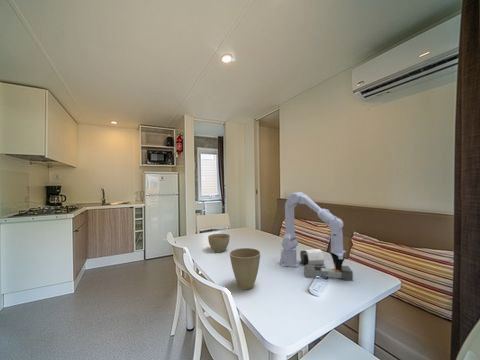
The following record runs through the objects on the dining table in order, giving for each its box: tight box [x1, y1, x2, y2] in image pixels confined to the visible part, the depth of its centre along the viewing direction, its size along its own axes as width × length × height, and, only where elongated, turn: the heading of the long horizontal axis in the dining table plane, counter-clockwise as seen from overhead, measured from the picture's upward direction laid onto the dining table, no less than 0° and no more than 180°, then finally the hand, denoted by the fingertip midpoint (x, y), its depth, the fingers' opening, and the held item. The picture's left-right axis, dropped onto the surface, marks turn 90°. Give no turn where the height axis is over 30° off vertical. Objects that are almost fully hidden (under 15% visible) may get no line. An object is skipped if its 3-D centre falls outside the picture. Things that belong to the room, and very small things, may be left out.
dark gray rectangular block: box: [341, 265, 354, 282], centre depth 106 cm, size 4×7×4 cm, turn 168°
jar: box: [299, 248, 325, 266], centre depth 125 cm, size 9×8×12 cm
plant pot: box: [229, 247, 261, 290], centre depth 100 cm, size 15×15×16 cm
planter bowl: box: [207, 233, 231, 253], centre depth 154 cm, size 16×16×11 cm
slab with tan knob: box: [321, 262, 342, 279], centre depth 107 cm, size 13×4×7 cm, turn 78°
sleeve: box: [303, 264, 328, 279], centre depth 109 cm, size 11×7×4 cm, turn 78°
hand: (337, 268), depth 107 cm, fingers closed on slab with tan knob, 3 cm apart
